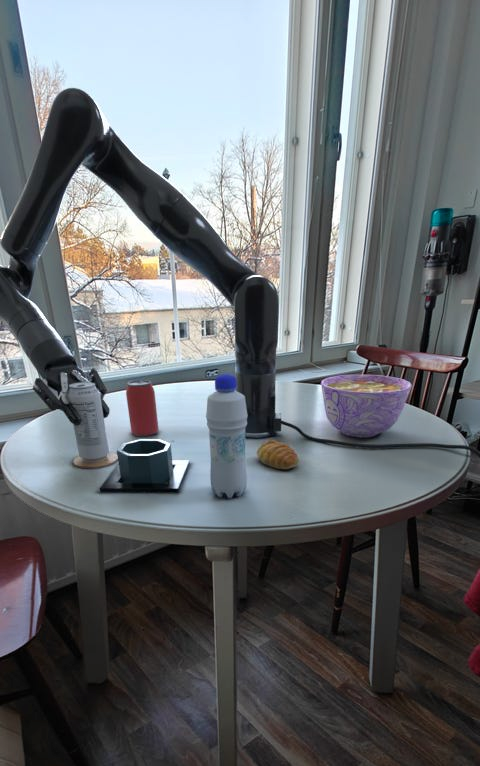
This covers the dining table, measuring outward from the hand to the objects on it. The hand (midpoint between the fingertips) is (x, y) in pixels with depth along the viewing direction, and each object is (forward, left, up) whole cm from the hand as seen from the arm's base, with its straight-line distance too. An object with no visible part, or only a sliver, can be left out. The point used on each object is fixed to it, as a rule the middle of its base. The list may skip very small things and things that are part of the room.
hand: (93, 418), depth 90 cm
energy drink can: (+2, -1, -9) cm, 9 cm away
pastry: (-37, 0, -9) cm, 38 cm away
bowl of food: (-57, -20, -9) cm, 61 cm away
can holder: (-12, +8, -9) cm, 17 cm away
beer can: (-5, -20, -9) cm, 22 cm away
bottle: (-28, +15, -9) cm, 33 cm away
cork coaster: (+1, -1, -9) cm, 9 cm away
